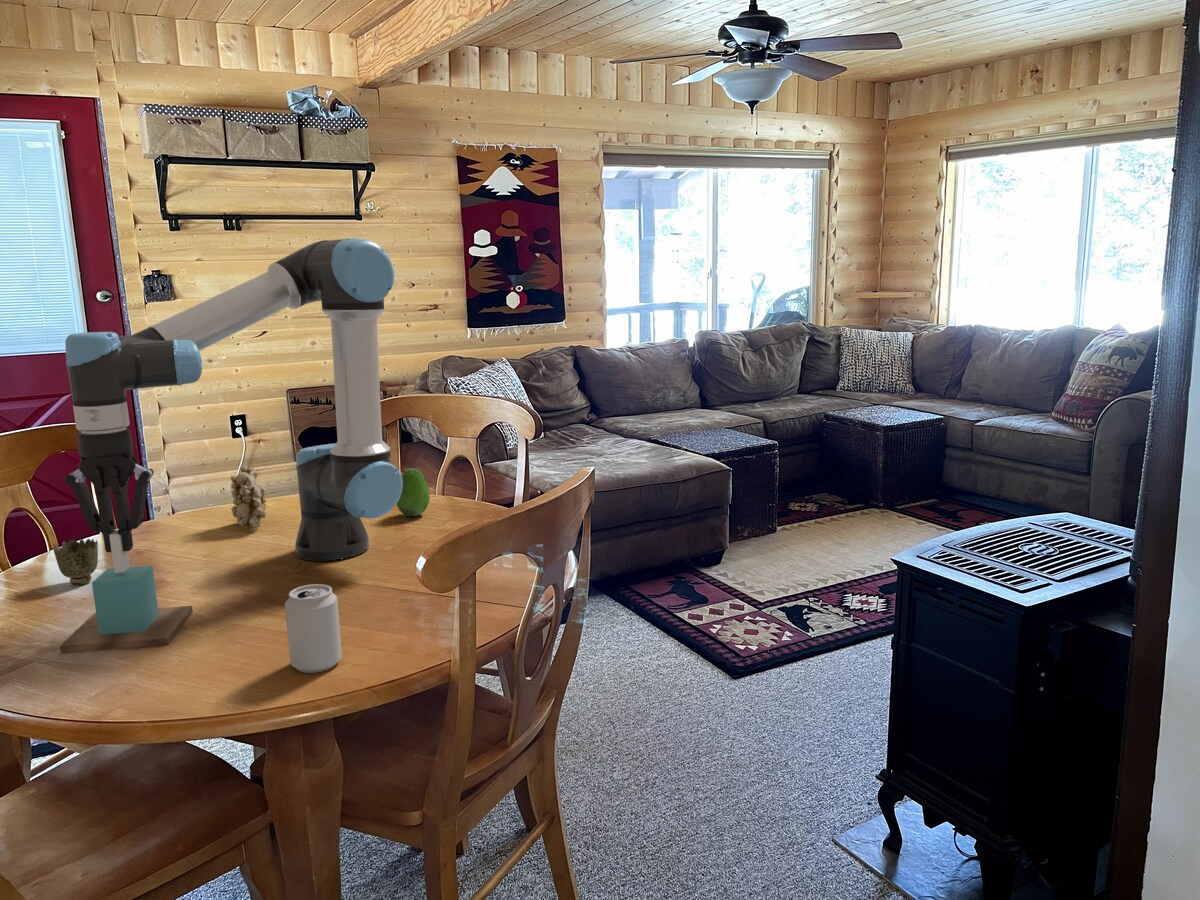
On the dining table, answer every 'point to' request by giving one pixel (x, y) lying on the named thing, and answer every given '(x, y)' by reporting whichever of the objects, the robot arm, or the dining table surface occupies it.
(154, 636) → the peg base
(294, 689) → the dining table surface
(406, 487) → the fruit
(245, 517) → the mineral formation
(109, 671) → the dining table surface
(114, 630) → the teal toy cube
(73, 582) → the cup
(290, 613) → the can
